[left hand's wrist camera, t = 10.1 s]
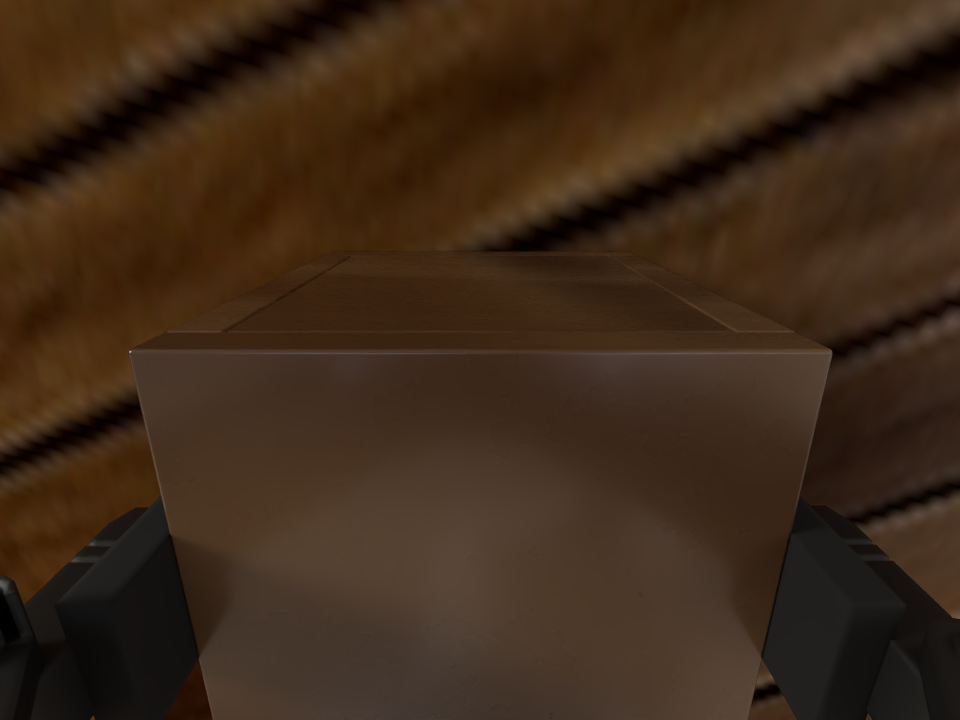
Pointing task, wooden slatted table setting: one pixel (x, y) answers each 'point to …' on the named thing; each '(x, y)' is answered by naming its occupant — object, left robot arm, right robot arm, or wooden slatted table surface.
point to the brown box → (480, 487)
